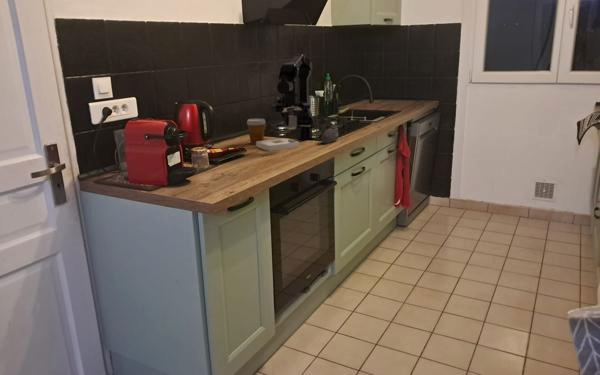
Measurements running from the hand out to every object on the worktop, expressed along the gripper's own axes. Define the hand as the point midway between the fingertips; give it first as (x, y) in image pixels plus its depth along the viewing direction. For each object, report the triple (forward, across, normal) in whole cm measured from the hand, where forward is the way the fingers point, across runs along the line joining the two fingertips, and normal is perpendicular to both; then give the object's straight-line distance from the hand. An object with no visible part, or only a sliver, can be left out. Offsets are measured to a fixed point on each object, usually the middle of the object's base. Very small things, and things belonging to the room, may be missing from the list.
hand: (290, 125), depth 231 cm
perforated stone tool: (+12, -24, -3) cm, 27 cm away
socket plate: (+11, +2, -9) cm, 15 cm away
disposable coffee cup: (+12, +6, -23) cm, 26 cm away
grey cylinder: (+2, 0, 0) cm, 2 cm away
